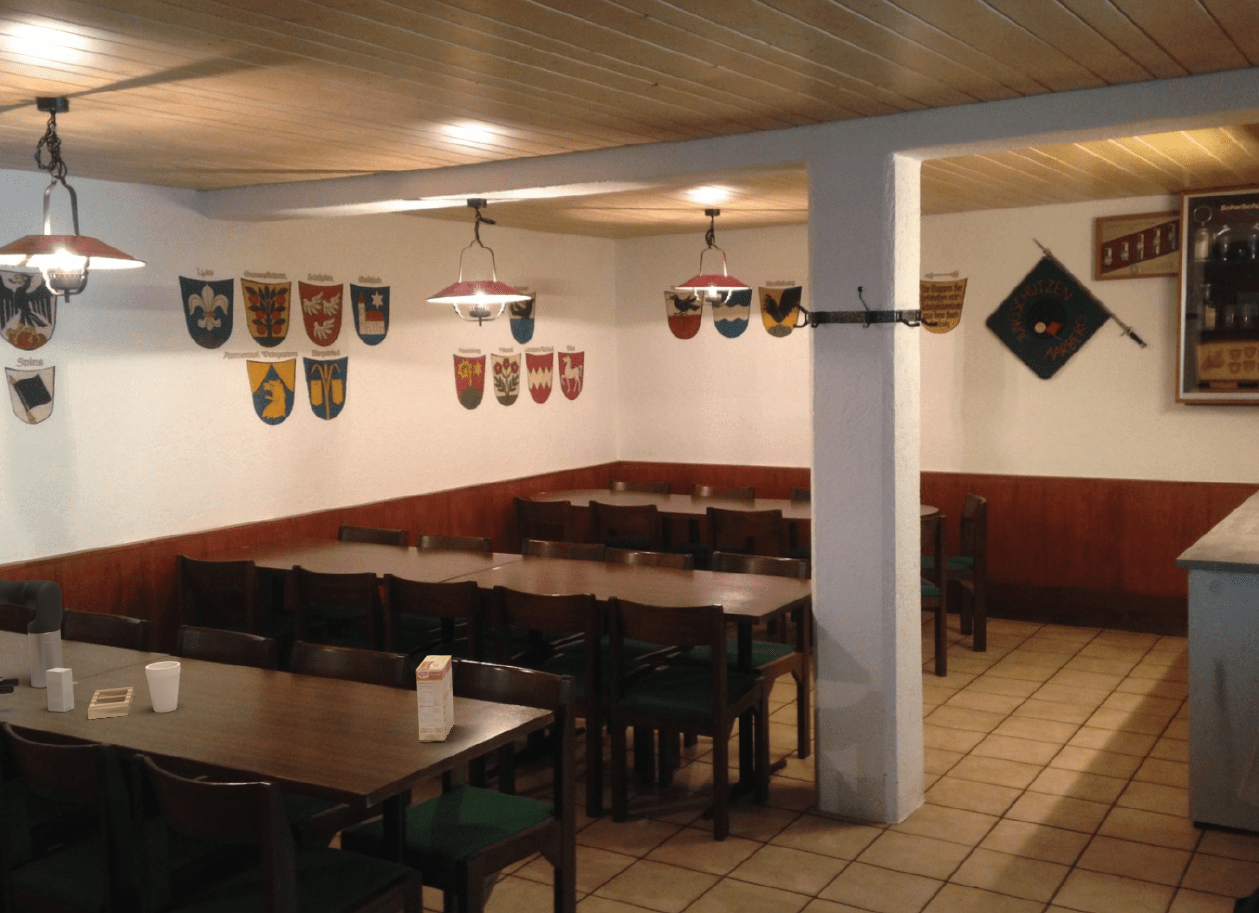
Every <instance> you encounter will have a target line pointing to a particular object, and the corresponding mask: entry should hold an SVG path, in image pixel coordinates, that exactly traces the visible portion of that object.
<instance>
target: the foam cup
mask: <svg viewBox="0 0 1259 913" xmlns="http://www.w3.org/2000/svg"><path fill="white" fill-rule="evenodd" d="M144 670H145V676H146V680H147V684H148V685H147V686H148V690H149V695H150V699H151V700H150V701H151V705H152V709H153V712H154V711H155V713H168V712H172V711H175V710H177V709H176V708H178V699H179V688H180V674H181V670H182V669H181V662H179V661H172V660H171V661H169V660H168V661H159V662H153V663H150V664H147V665H146V666H145V669H144Z"/></svg>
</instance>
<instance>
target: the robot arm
mask: <svg viewBox="0 0 1259 913" xmlns="http://www.w3.org/2000/svg"><path fill="white" fill-rule="evenodd" d="M0 605H13V606H18V607H22V608H26V609H27V608H28V609H31V610H35V619H34V620H32V621H30V622H29V623H28V624H27V637H28V638H27V639H28V652H29V654H28V655H29V665H30V666H29V668H30V669H29V670H30V682H31V683H30V684H31V687H32V688H39V689H40V688H47V682H46V671H47V670H51V669H54V668H64V666H63V651H62V636H61V634H62V633H61V623H62V620H63V594H62V589H61V587H60V585H59V584H58V583H57V582H55V581H52V580H41V579H30V580H11V579H10V580H9V579H6V578H5V579H4V578H2V577H0ZM19 685H20V680H19V678H18V677H15V678H4V677H3V676H0V695H5V694H6V695H7V694H13V693H14V692H15V687H18V686H19Z"/></svg>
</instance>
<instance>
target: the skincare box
mask: <svg viewBox="0 0 1259 913" xmlns="http://www.w3.org/2000/svg"><path fill="white" fill-rule="evenodd" d="M46 682H47V687H46V694H47V710H48V712H57V713H58V712H59V713H60V712H61V713H65V712H69V711H71V710H74V709H75V698H74V697H75V695H74V681H73V669H72V668H65V667H63V668H54V669H51V670H47V671H46Z"/></svg>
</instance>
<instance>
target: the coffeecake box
mask: <svg viewBox="0 0 1259 913" xmlns="http://www.w3.org/2000/svg"><path fill="white" fill-rule="evenodd" d="M452 665H453V664H452V655H448V654H447V655H435V654H434V655H432V654H431V655H426V657H425V658H424V659H423V661H422V662H420V664H419V665H418V666H417V668H416V669H415V675H416V677H415V678H416V693H417V695H416V696H417V713H418V714H417V719H418V740H445V739H446V737H447V735H448V734H449V735H450V733H451V732H450V730H451V728H452V727H453V728H454V726H455V719H454V718H455V717H454V716H455V714H454V694H453V693H454V692H453V668H452ZM453 725H454V726H453ZM453 728H452V729H453ZM451 731H452V730H451ZM449 732H450V733H449ZM449 735H448V736H449ZM447 738H448V737H447ZM446 740H447V739H446ZM446 740H445V741H446Z"/></svg>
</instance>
